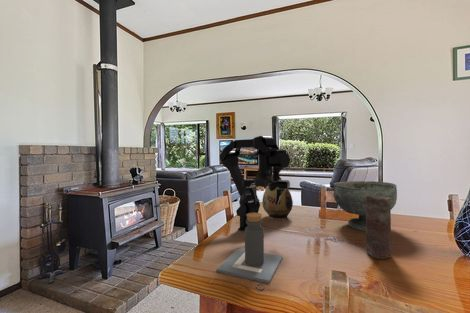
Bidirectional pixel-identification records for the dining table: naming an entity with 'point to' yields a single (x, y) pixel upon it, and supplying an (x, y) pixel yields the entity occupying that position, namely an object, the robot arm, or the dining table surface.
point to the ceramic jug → (270, 199)
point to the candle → (378, 226)
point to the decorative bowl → (361, 198)
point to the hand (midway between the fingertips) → (266, 204)
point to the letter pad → (240, 269)
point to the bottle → (254, 240)
